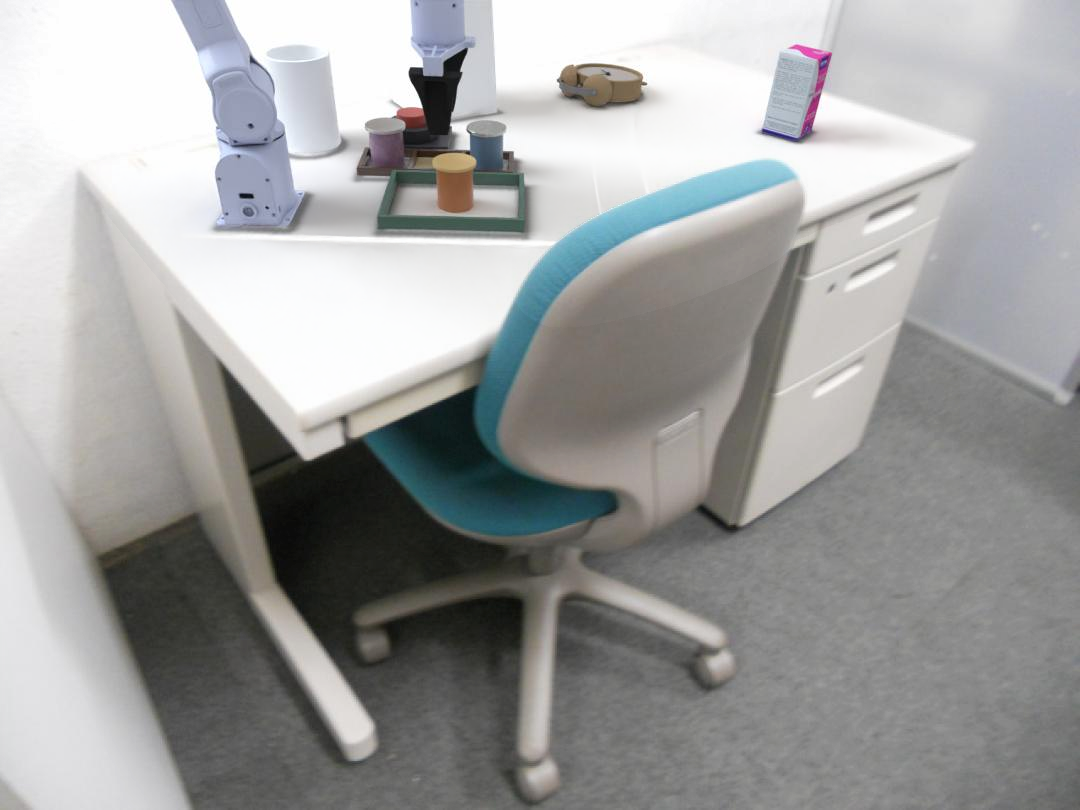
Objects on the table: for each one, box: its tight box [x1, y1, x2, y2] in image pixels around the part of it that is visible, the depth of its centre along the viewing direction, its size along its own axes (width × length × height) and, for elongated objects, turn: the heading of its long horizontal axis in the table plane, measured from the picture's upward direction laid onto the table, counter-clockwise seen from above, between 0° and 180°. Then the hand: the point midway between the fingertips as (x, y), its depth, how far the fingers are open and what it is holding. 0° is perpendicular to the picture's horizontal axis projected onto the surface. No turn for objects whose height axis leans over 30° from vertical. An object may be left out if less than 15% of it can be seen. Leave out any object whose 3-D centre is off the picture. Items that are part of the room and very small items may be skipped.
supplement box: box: [760, 43, 833, 142], centre depth 118 cm, size 6×6×12 cm
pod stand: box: [356, 146, 515, 177], centre depth 105 cm, size 7×20×2 cm, turn 91°
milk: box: [389, 0, 498, 118], centre depth 117 cm, size 12×12×26 cm
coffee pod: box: [432, 153, 476, 214], centre depth 95 cm, size 5×5×5 cm
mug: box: [263, 43, 342, 155], centre depth 108 cm, size 12×8×12 cm
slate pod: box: [465, 119, 507, 170], centre depth 104 cm, size 5×5×5 cm
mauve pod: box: [364, 117, 406, 167], centre depth 104 cm, size 5×5×5 cm
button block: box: [390, 114, 453, 150], centre depth 111 cm, size 10×8×3 cm
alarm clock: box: [556, 62, 648, 107], centre depth 130 cm, size 11×5×15 cm
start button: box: [396, 107, 427, 128], centre depth 110 cm, size 4×4×2 cm
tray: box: [376, 170, 525, 233], centre depth 96 cm, size 13×16×2 cm
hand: (442, 122), depth 95 cm, fingers open, 7 cm apart
